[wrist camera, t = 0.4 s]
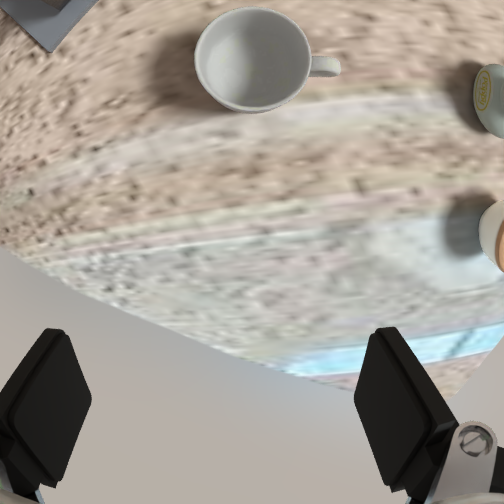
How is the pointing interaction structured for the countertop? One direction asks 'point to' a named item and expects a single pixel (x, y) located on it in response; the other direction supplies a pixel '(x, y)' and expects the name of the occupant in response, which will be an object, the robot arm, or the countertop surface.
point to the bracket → (46, 18)
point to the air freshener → (490, 98)
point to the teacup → (256, 60)
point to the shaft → (57, 3)
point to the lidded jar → (493, 233)
